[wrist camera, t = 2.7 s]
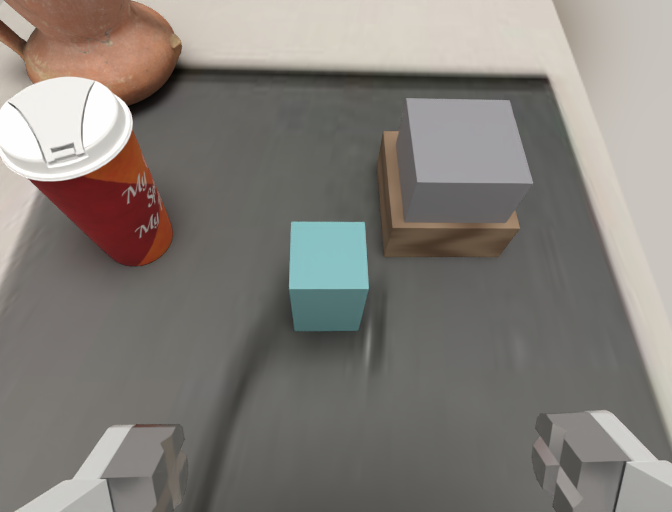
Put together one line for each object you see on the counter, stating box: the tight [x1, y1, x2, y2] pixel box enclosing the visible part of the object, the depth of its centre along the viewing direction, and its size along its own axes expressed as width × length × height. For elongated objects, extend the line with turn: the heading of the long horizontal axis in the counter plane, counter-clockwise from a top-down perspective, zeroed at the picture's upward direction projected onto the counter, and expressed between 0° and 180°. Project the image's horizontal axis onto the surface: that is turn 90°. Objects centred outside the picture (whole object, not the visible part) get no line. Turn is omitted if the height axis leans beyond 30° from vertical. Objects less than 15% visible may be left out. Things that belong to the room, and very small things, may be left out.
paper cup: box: [0, 77, 173, 266], centre depth 32 cm, size 8×8×14 cm
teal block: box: [289, 222, 369, 331], centre depth 32 cm, size 5×5×8 cm
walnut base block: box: [377, 131, 520, 257], centre depth 39 cm, size 10×10×5 cm
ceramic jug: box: [0, 0, 182, 106], centre depth 41 cm, size 18×14×14 cm
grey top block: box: [396, 98, 533, 223], centre depth 34 cm, size 8×8×5 cm
